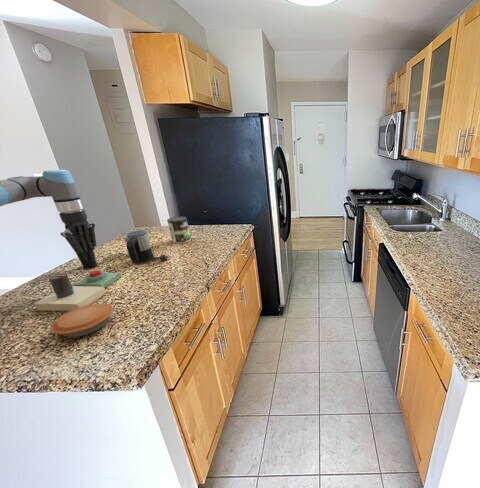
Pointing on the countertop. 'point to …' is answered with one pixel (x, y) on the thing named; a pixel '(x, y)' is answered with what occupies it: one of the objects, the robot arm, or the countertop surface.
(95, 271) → the button
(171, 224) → the coffee can
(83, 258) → the drinking cup
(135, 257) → the milk frother
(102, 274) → the red push button panel
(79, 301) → the hob console
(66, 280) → the hob knob
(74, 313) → the pie
